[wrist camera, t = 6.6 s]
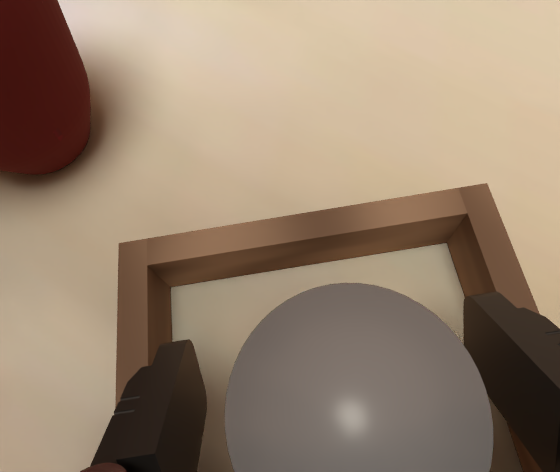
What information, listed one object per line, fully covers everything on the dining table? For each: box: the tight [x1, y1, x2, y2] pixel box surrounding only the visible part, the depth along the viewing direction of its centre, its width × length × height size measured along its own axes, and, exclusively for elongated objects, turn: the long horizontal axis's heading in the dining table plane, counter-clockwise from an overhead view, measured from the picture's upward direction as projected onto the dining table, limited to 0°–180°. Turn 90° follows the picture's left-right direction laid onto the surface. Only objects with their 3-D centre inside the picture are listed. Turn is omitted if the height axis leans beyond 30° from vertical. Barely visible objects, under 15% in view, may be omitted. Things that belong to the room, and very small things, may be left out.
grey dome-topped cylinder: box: [225, 283, 493, 472], centre depth 11 cm, size 4×4×8 cm
